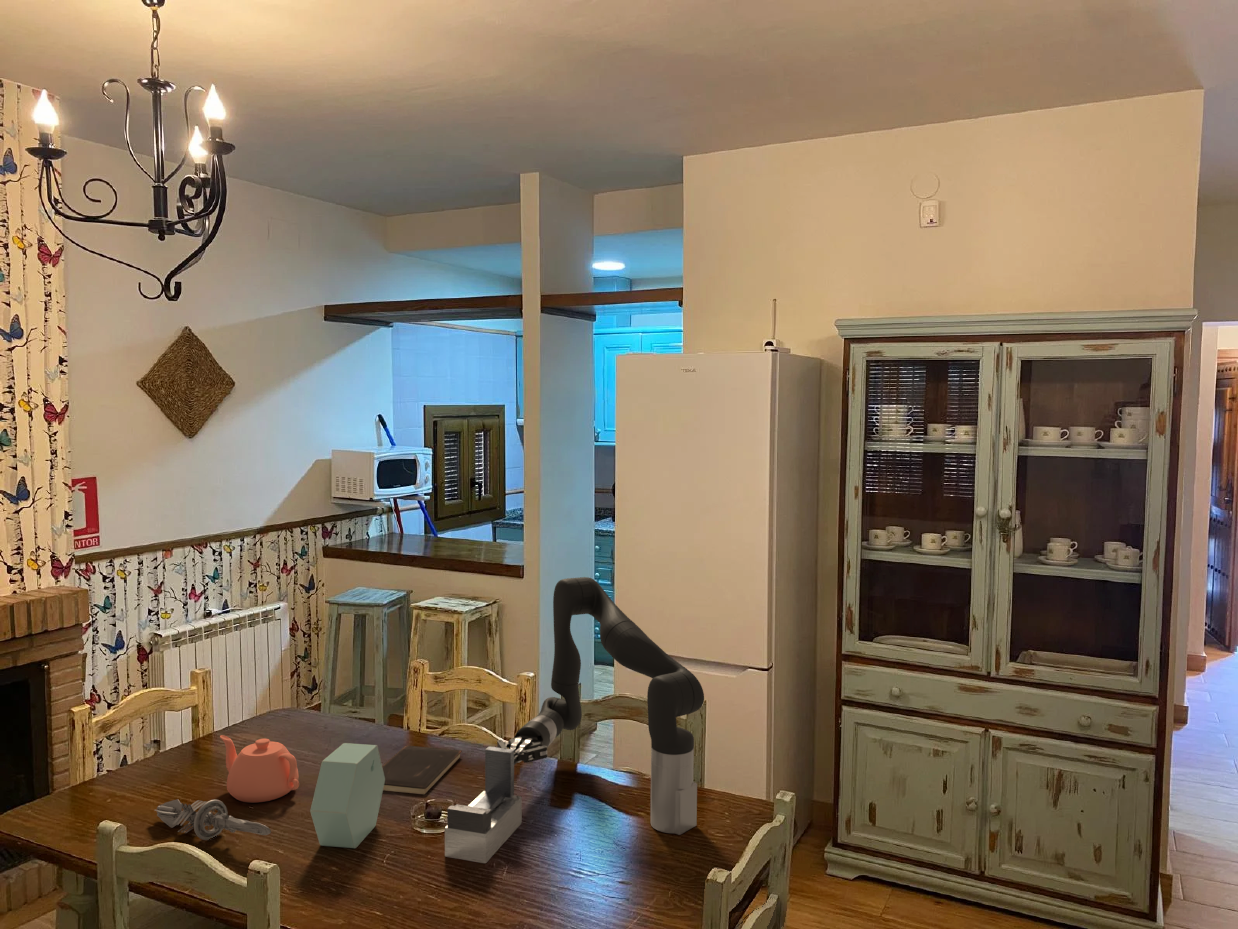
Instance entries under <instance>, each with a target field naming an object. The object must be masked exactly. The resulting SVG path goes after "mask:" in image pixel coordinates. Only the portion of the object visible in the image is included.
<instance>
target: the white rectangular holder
mask: <svg viewBox="0 0 1238 929" xmlns="http://www.w3.org/2000/svg"><path fill="white" fill-rule="evenodd" d="M485 795H486V794H485V790H483V791H482V792H481V793H480V794H478V796H476V798H475V799H474V800H473V801H471V802H470V803H469V804H468V805H463V804H455V805H449V806H448V807H447V811H446V813H447V814H446V815H447V820H446V821H447V823H446V824H447V825H446V826H445V827H444V857H447V858H451V859H456V860H457V859H458V860H463V861H469V862H476V863H480V864H486V863H488V862H489V860H490V859H492V857H493V856H494V855H495V854H496V853H497V852H498V850H499V849H500V848H501V847H502V846H503V844H504V843H506V841H507V840H508V839H509V838H510V837H511V836H512V835H513V834H514V832H515V831H516V830H517V829H518V828H519V827H520V826H521V825H522V822H523V821H522V816H523V815H522V810H523V809H522V808H523V807H522V806H523V805H522V804H523V803H522V800H523V799H522V796H521V795H516V794H514V795H513V796H512V797H511V798H506V797H505V798H504V799H503V800H502V801H501V802H500V803H499V804H498V805H497V806H496V807H495V808H494V809H493V810H492V811H491V809H484V808H478V807H473V806H474V805H475V804H476V803H477V802H478V801H479V800H480V799H482V798H483V797H484V796H485Z"/></svg>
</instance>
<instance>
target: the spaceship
mask: <svg viewBox="0 0 1238 929" xmlns="http://www.w3.org/2000/svg"><path fill="white" fill-rule="evenodd" d="M197 809H198V811H196V810H197ZM155 811H156V813H157V814H156V816H157V817H158V818H159V819H160V820H161V821H162V822H163V823H165V825H166V826H168V827H170V828H171V829H172V828H174V827H176V826H181V828H180V829H179V830H178V831H177V833H179V832H181V833H184V834H187V833H188V832H190V831H191V830H194V833H195V835H196V836H197V837H198V838H199V839H200V840H201V841H202V840H203V841H210V840H211V839H210V838H213V837H215V836H216V837H217V835H218V836H219V835H220V834H221V833H222V832H223V830H226V831H229V832H230V833H235V832H236V831H239V832H244V833H252V834H256V835H260V836H267V835H270V834H271V833H272V830H271V828H269V827H268V826H267V825H264V823H263V824H262V823H260V822H254V821H249V820H248V819H241V818H235V817H234V816H232V815H229V814H228V808H227V806H226V805H225V803H224V802H223V801H221V800H219V799H211V800H208V801H203V800H199V799H198V800H195V801H194V802H193V803H192V804H190V803H189V804H187V803H183V802H181V801H180V800H179V799H178V798H177V799H174V800H170V801H166V802H164V803H163V804H159V805H158V806H157V807H156V809H155ZM215 811H217V812H216V813H215ZM186 822H188V823H186ZM184 823H186V824H185V825H184ZM179 824H180V825H179ZM182 826H183V827H182ZM206 826H207V829H206V828H205V827H206ZM211 827H213V828H212V829H211ZM216 837H215V838H216ZM209 839H210V840H209ZM213 839H214V838H213Z"/></svg>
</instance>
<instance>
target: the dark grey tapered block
mask: <svg viewBox="0 0 1238 929" xmlns="http://www.w3.org/2000/svg"><path fill="white" fill-rule="evenodd" d="M484 761H485V762H484V764H485V765H484V766H485V767H484V770H485V771H484V773H485V774H484V779H485V780H484V781H485V782H484V783H485V784H484V786H485V788H484V789H485V790H484V791H485V794H486V795H485V796H484V797H483V798H482V799H480V800H479V801H478V802H477V803H476V804H475V805H474V806H473V807H478V808H484V809H491V811H492V810H493V809H494V808H495V807H496V806H497V805H498V804H499V803H500V802H501V801H502V800H503V799H504V798H505V797H506V798H511V797H512V796H513V795H515V765H514V750H512V749H509V748H507V749H504V748H497V746H496V747H495V746H488V747H487V748H485V750H484Z"/></svg>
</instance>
